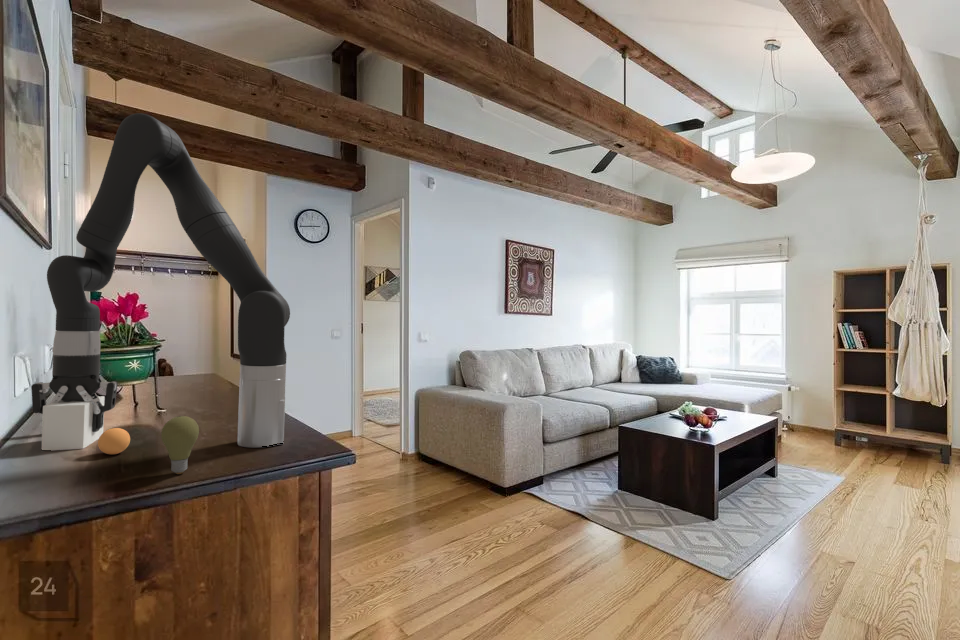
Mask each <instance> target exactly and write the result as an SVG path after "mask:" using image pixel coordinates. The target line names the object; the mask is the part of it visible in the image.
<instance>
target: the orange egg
mask: <svg viewBox="0 0 960 640" xmlns="http://www.w3.org/2000/svg"><path fill="white" fill-rule="evenodd" d="M130 442H131V436H130V434H129V431H127V430H125V429H123V428H120V427H114V428H113V427H112V428H109V429H107V430H105V431H103V434H102V435H101V436H100V437H99V439H97V446H98V448H99V449H98V450H100V451H101V452H102V453H104V454H107V455H117V454H120V453H122V452H124V451H125V450H126V449H127V448H128V447H129V445H130Z"/></svg>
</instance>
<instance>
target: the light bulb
mask: <svg viewBox="0 0 960 640" xmlns="http://www.w3.org/2000/svg"><path fill="white" fill-rule="evenodd" d="M160 434H161V440H162V443H163V445H164V447H165V448H166V451H167V453H168V457H169V459H170V463H171V465H170V467H171V468H170V470H171V472H173V473H174V474H175V475H182V474H183V473H184V472H185V471H186V470H187V469H188V460H189V457H190V456H191V453H192V450H193V449H192V448H193V447H194V445H195V444H196V442H197V439H198V437H199V434H200V427H199V425H198V423H197V421H196V420H195V419H194V418H192V417H190V416H185V415H180V416H174V417H172V418H171V419H169V420H168V421H167V422H166V423H165V424H164V426H163V427H162V429H161V433H160Z"/></svg>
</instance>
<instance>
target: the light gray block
mask: <svg viewBox="0 0 960 640" xmlns="http://www.w3.org/2000/svg"><path fill="white" fill-rule="evenodd" d="M97 396H98V397H99V399H100V402H101V404H102V405H103V406H104V404H105V396H106V395H102V396H99V395H97ZM93 414H94V412H93V404H92V402H85V401H80V402H78V401H70V402H64V401H60V402H59V403H50V402H49V403H46V405H45V406H43V414H42V419H41V421H42V423H41V424H42V425H41V449H42V450H51V451H64V450H65V451H66V450H80V449H81V450H83V449H85V448H86V447H88V446H90V445H92V444H93V443H95V442H96V441H98V440H99V437H100V436H101V435H102V434H103V433H104V427H105V426H104V421H105V416H104V417H103V426H102V428H100V429H99V431H97V432H92V418H93Z"/></svg>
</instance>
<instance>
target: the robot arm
mask: <svg viewBox="0 0 960 640" xmlns="http://www.w3.org/2000/svg"><path fill="white" fill-rule="evenodd" d="M148 166H149V167H150V168H151V169H152V170H153V171H154V172H155V173H156V175H157V176H158V177H159V178H160V180H161V181H162V182H163V183H164V185H165V186H166V187H167V189H168V191H169V193H170V194H171V197H172V199H173V203H174V206H175V209H176V210H175V211H176V213H177V217H178V221H179V223H180V226H181V227H182V229H183V230H184V232H185V233H186V235H187V237H188V238H189V240H190V241H191V242H192V244H193V246H195V248H196V250H197V251H198V252H199V253H200V254H201V256H202V257H203V258H204V259H205V260H206V261H207V262H208V264H210V265H211V266H212V268H213V269H214V270H215V271H217V273H219V275H221V276H222V277H223V278H224V279H225V281H227V282H228V284H229V285H230V286H231V288H232V289H233V291H234V292H235V294H236V296H237V297H238V299H239V301H240V304H239V308H238V314H237V349H238V354H239V361H240V362H239V363H240V364H239V384H238V385H239V387H238V390H239V391H238V414H237V416H238V417H237V418H238V419H237V445H238V447H244V448H263V447H262V446H267V447H270V446H269V445H273V444H277V443H283V444H284V442H283V441H284V440H285V413H286V411H285V410H286V380H287V379H286V378H287V351H286V346H285V327H286V326H287V324H288V322H289V321H290V318H291V309H290V305H289V303H288V302H287V300H286V299H285V298H284V296H283V295H282V294H281V293H280V291H279V290H278V289H277V288H276V287H275V285H274V284H273V283H272V282H271V281H270V279H269V278H268V277H267V276H266V275H265V273H264V272H263V270H262V268H261V267H260V266H259V263H257V260H256V259H255V256H254V255H253V253H252V250H251V249H250V247H249V245H248V244H247V243H246V240H245V239H244V237H243V235H242V234H241V232H240V231H239V229H238V227H237V226H236V224H235V223H234V221H233V219H232V218H231V216H230V215H229V213H228V212H227V210H226V209H225V208H224V207H223V205H222V204H221V202H220V201H219V200H218V198H217V197H216V195H215V194H214V192H213V191H212V190H211V188H210V187H209V186H208V184H207V183H206V182H205V181H204V179H203V178H202V176H201V175H200V173H199V171H198V169H197V168H196V165H195V164H194V162H193V159H192V158H191V156H190V154H189V152H188V150H187V148H186V146H185V144H184V142H183V140H182V139H181V137H180V136H179V134H177V133H176V131H175V130H173V128H171V127H169V126H168V125H167V124H165V123H163V122H161V120H158V119H157V118H156V117H154V116H152V115H149V114H146V113H142V112H140V113H139V112H138V113H132V114H130V115H128V116H126V117H125V118H124V119H122V121H121V123H120V124H119V126H118V128H117V131H116V133H115V137H114V139H113V143H112V147H111V150H110V154H109V158H108V160H107V164H106V167H105V171H104V174H103V175H102V176H103V177H102V180H101V183H100V186H99V188H98V191H97V194H96V195H95V198H94V200H93V203H92V204H91V206H90V208H89V210H88V211H87V214H86V215H85V217H84V219H83V221H82V224H80V227H79V228H78V230H77V233H76V238H75V239H76V240H77V242H78V244H80V245H81V246H83V247H85V251H84V255H83V257H81V256H76V255H60V256H57V257H55V258H54V259H53V260H52V261H51V262H50V264H49V266H48V268H47V270H46V271H47V272H46V281H47V285H48V288H49V289H48V290H49V292H50V295H51V299H52V302H53V306H54V308H55V311H56V313H55V332H54V333H55V334H54V338H53V344H52V345H53V346H52V349H51V350H52V376H51V377H52V378H51V380H50V382H41V381H40V382H36V383H32V385H31V386H30V388H31V403H32V411H33V413H34V414H40V415H43V406H45V405H47V399H46V393H48V392H49V389H50V390H51V391H52V392H53V393H54V394H55V396H54V397H53V398H52V399H51V401H50V402H49V404H50V403H59V402H60V401H64V402H70V401H78V402H80V401H85V402H92V404H93V412H94V414H93V418H92V432H97V431H99V429H100V428H102V426H103V417H104V418H105V412H108V411H110V410H112V409H114V408H115V407H116V399H117V392H118V385H119V384H118V382H117V381H116V380H114V381H102V380H101V378H100V368H101V336H100V335H101V334H100V329H101V328H100V325H101V319H100V318H101V311H100V308H99V307H100V306H98V305H96V304H94V303H92V302H90V301H88V300H87V297H86V293H85V292H97V291H101V290H103V288H104V287H106V286H107V285H108V284H109V283H110V281H111V279H112V276H113V273H114V268H115V264H116V259H117V251H118V248H119V246H120V244H121V243H122V241H123V239H124V237H125V235H126V233H127V232H128V229H129V227H130V224H131V222H132V219H133V214H134V207H135V197H136V196H135V195H136V190H137V186H138V183H139V180H140V178H141V176H142V175H143V172H144V171H145V170H146V169H147V167H148ZM100 388H102V392H104V393H105V395H104V396H105V399H104V406H103V405H102V404H101V402H100V399H99V397H98V396H99V395H97V393H96V392H98V390H99V389H100ZM277 445H278V444H277ZM273 446H274V445H273Z"/></svg>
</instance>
